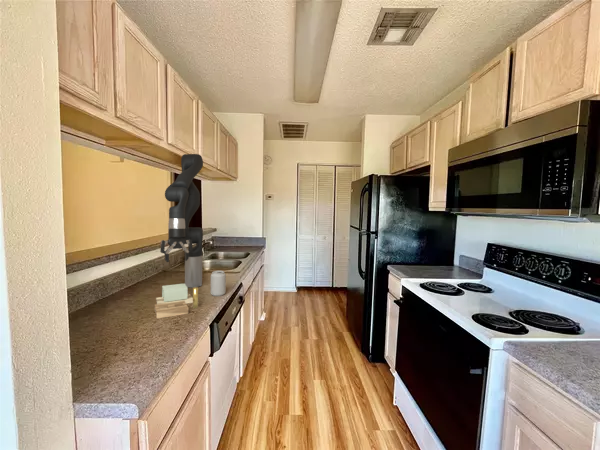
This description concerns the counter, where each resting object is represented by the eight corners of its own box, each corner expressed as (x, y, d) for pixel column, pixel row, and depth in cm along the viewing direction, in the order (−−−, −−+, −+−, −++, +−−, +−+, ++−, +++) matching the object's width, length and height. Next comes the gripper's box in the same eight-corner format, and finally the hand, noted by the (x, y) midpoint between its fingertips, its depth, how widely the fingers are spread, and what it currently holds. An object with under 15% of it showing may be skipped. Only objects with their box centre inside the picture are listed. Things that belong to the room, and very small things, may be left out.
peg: (192, 307, 126) (192, 287, 126) (197, 306, 127) (197, 286, 127) (193, 308, 124) (193, 288, 124) (198, 307, 125) (198, 288, 125)
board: (156, 300, 133) (156, 292, 132) (189, 296, 140) (189, 288, 140) (158, 307, 124) (157, 298, 124) (193, 302, 132) (193, 294, 132)
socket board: (154, 310, 121) (154, 304, 121) (184, 306, 127) (184, 300, 127) (156, 318, 112) (156, 312, 112) (188, 313, 119) (188, 307, 118)
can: (227, 292, 148) (227, 270, 148) (222, 297, 141) (222, 273, 140) (214, 291, 149) (214, 269, 148) (208, 296, 142) (208, 272, 141)
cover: (162, 296, 133) (162, 285, 133) (184, 293, 138) (184, 283, 138) (163, 301, 126) (163, 290, 126) (187, 298, 131) (187, 287, 131)
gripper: (189, 228, 144) (189, 259, 143) (159, 228, 135) (159, 261, 134) (194, 227, 138) (194, 260, 137) (162, 227, 129) (162, 263, 128)
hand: (176, 261), depth 136 cm, fingers open, 8 cm apart
